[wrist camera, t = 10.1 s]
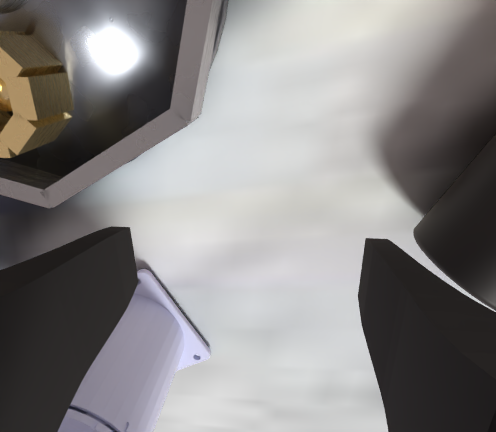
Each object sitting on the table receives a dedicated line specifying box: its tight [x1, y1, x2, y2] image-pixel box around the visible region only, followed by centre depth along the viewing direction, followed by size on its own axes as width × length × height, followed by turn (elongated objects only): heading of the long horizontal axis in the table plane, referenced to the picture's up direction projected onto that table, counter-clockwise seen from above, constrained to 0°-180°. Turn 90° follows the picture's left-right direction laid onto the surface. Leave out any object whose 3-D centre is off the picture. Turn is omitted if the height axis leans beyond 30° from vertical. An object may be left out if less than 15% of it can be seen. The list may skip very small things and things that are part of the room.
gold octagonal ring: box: [0, 31, 74, 158], centre depth 18 cm, size 5×5×3 cm
